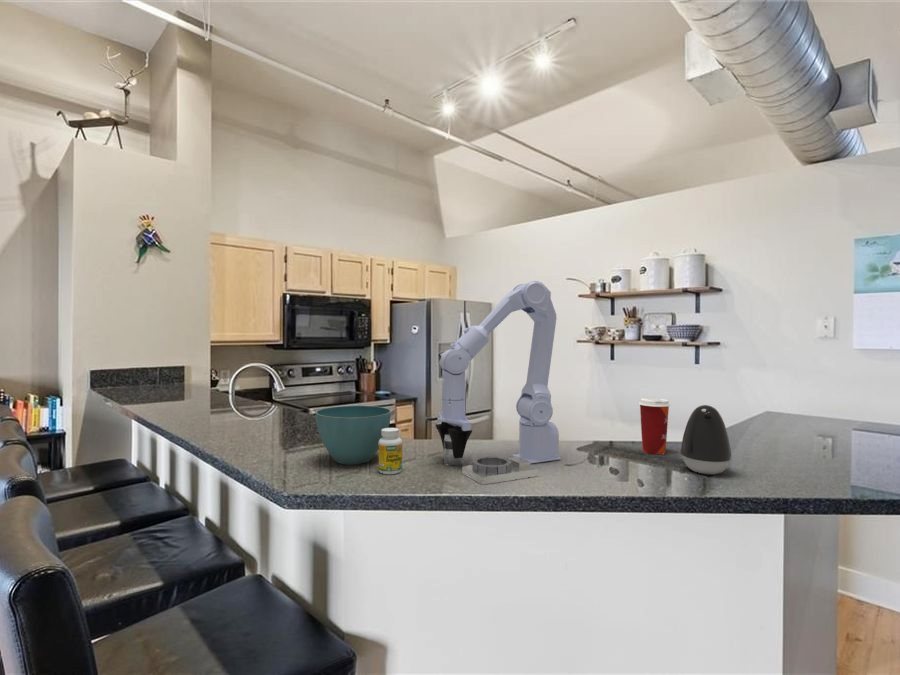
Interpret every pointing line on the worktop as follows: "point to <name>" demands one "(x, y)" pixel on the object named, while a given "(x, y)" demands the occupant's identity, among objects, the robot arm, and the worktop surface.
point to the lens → (450, 452)
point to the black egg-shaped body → (706, 442)
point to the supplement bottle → (390, 451)
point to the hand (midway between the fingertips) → (453, 455)
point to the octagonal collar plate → (499, 469)
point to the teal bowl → (352, 431)
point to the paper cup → (654, 424)
